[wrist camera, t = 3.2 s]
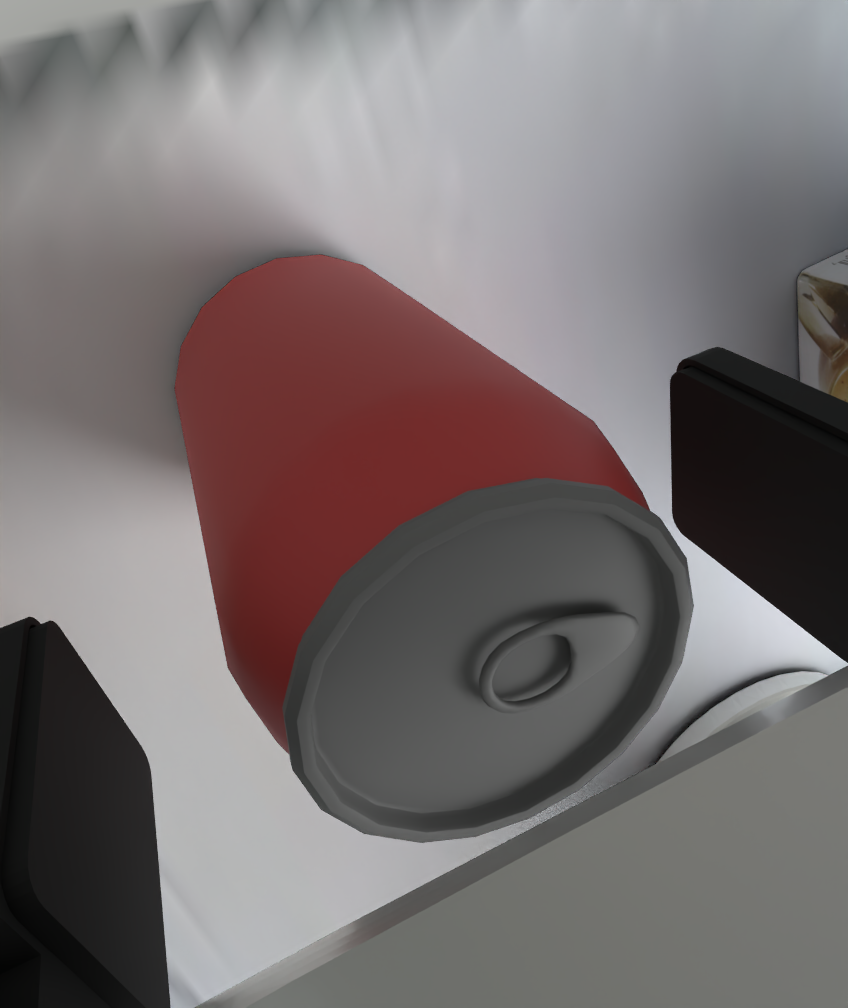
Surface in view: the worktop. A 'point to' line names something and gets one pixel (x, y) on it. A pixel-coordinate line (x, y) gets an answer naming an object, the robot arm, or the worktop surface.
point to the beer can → (418, 555)
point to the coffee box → (824, 325)
